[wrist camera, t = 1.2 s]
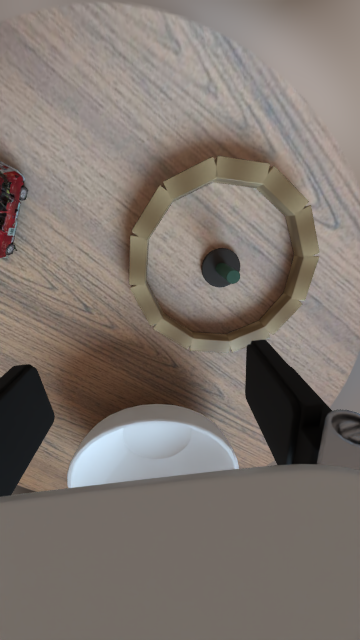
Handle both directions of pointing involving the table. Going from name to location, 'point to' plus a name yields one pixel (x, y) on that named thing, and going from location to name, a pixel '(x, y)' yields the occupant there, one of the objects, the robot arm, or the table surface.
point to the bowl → (150, 446)
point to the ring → (300, 235)
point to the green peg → (221, 267)
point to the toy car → (10, 206)
